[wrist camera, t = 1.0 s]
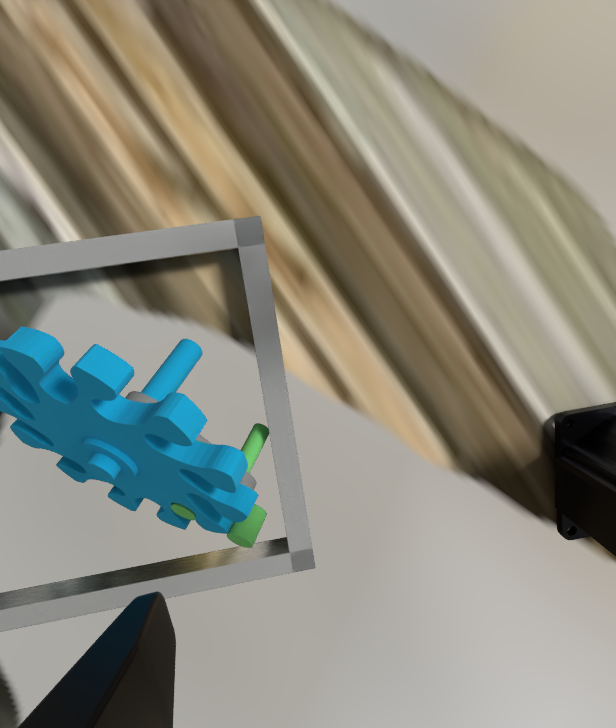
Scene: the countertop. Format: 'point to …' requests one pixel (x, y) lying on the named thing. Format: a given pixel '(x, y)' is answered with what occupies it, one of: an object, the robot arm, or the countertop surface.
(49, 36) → the countertop surface
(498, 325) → the countertop surface
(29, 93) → the countertop surface
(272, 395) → the gray rectangular frame
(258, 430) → the gear
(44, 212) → the countertop surface
